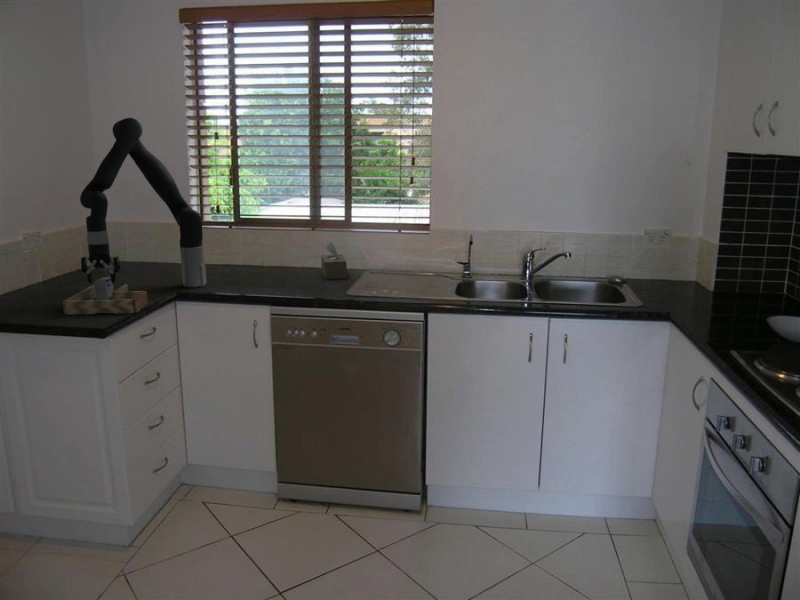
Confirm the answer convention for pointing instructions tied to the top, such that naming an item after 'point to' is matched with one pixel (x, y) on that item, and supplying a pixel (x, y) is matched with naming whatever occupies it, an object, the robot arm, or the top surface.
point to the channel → (105, 302)
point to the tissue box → (333, 264)
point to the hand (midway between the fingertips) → (102, 282)
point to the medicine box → (104, 288)
